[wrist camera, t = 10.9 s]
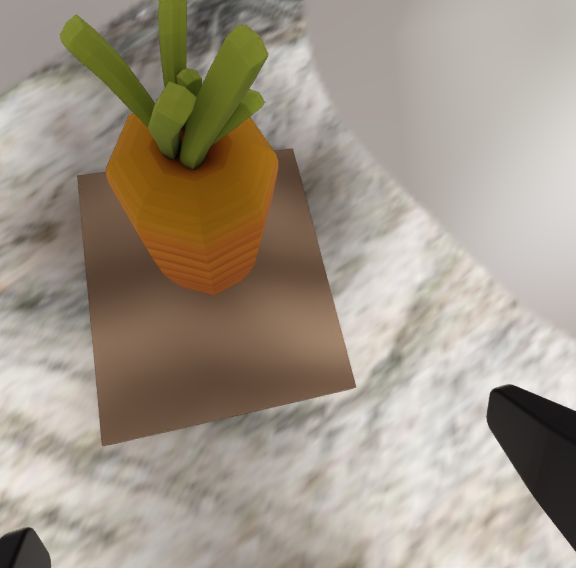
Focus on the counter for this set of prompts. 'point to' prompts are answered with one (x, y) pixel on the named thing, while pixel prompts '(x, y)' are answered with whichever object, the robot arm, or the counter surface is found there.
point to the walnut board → (207, 322)
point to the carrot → (189, 152)
